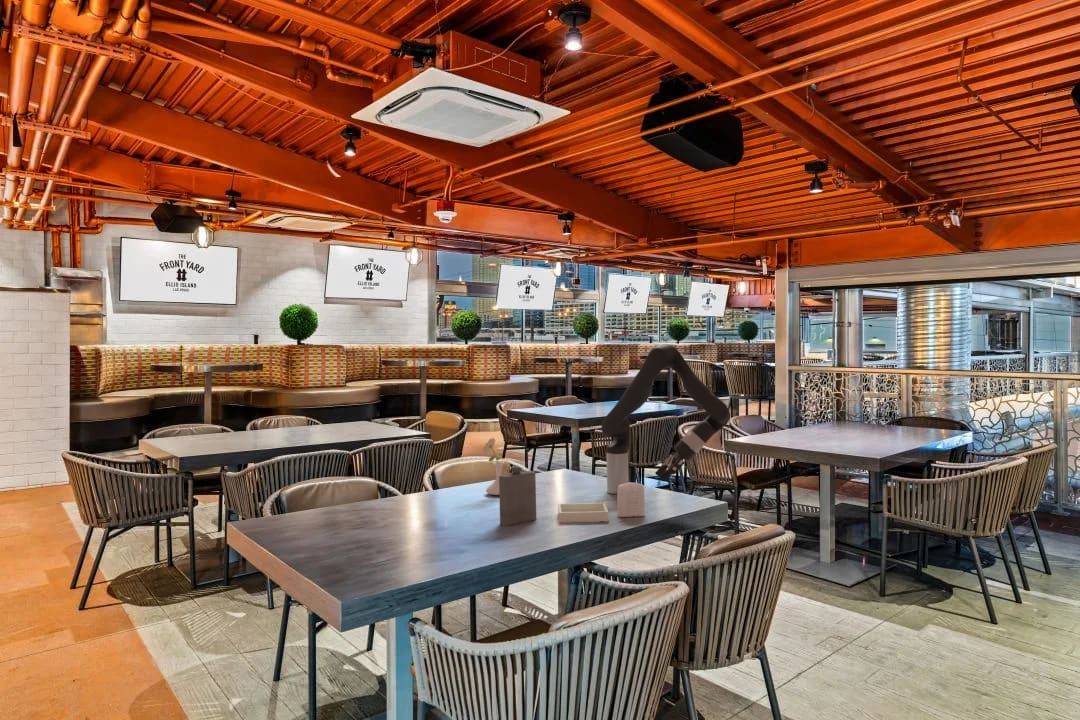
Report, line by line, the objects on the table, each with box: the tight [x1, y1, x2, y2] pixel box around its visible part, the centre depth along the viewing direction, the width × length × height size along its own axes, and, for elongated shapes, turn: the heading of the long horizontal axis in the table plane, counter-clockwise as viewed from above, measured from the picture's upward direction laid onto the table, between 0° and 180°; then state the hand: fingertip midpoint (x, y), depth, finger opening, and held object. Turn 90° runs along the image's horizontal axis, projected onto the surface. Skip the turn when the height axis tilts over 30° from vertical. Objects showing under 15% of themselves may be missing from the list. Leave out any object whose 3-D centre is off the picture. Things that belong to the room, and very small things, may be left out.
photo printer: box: [616, 482, 646, 518], centre depth 243 cm, size 10×4×12 cm, turn 98°
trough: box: [557, 502, 609, 523], centre depth 243 cm, size 14×18×4 cm
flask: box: [498, 465, 537, 527], centre depth 239 cm, size 15×6×20 cm, turn 126°
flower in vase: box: [482, 437, 505, 496], centre depth 283 cm, size 13×11×25 cm
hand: (659, 477), depth 243 cm, fingers open, 8 cm apart
